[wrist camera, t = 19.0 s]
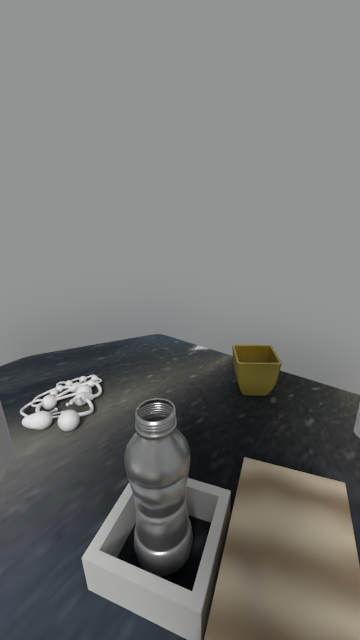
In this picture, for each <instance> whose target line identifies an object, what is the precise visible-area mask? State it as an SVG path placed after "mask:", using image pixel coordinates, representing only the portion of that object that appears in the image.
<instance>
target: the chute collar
mask: <svg viewBox="0 0 360 640" xmlns="http://www.w3.org/2000/svg"><path fill="white" fill-rule="evenodd" d="M230 500H231V491H230V490H227V489H223V488H220V487H217V486H213V485H210V484H207V483H203V482H200V481H197V480H194V479H190V478H188V479H187V489H186V504H187V511H188V515H190V516H193V517H195V518H198V519H201V520H204V521H207V522H210V523H211V526H210V530H209V533H208V537H207V540H206V544H205V548H204V551H203V555H202V558H201V562H200V565H199V569H198V572H197V576H196V580H195V583H194V587H193V590H192V591H190V590H188V589H185V588H183V587H181V586H179V585H176V584H174V583H172V582H170V581H167V580H165V579H163V578H161V577H158V576H156V575H154V574H152V573H149V572H147V571H145V570H143V569H140V568H138V567H136V566H133V565H131V564H129V563H127V562H124V561H122V560H120V559H118V558H117V557H118V555H119V553H120V551H121V549H122V547H123V546H124V544H125V542H126V540H127V538H128V536H129V534H130V532H131V530H132V528H133V526H134V525H135V523H136V507H135V502H134V497H133V492H132V489H131V486H130V483H128V485H127V486H126V488H125V490H124V491H123V493H122V494H121V496H120V498H119V499H118V501H117V502H116V504H115V506H114V507H113V509H112V510H111V512H110V514H109V515H108V517H107V518H106V520H105V522H104V523H103V525H102V526H101V528H100V529H99V531H98V533H97V534H96V536H95V537H94V539H93V541H92V542H91V544H90V545H89V547H88V549H87V550H86V552H85V553H84V555H83V557H82V562H83V567H84V572H85V576H86V581H87V586H88V590H90V591H92V592H94V593H96V594H98V595H100V596H102V597H104V598H106V599H108V600H110V601H112V602H114V603H116V604H118V605H120V606H122V607H124V608H126V609H128V610H130V611H132V612H134V613H136V614H138V615H140V616H142V617H143V618H145V619H147V620H149V621H151V622H153V623H155V624H157V625H159V626H161V627H163V628H165V629H167V630H169V631H171V632H173V633H175V634H177V635H179V636H181V637H183V638H185V639H187V640H203V636H204V632H205V627H206V623H207V619H208V614H209V610H210V605H211V601H212V596H213V592H214V587H215V583H216V578H217V574H218V569H219V565H220V560H221V556H222V552H223V547H224V543H225V538H226V534H227V529H228V525H229V520H230Z"/></svg>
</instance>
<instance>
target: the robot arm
mask: <svg viewBox="0 0 360 640" xmlns="http://www.w3.org/2000/svg"><path fill="white" fill-rule="evenodd" d="M354 432H355V433H356V435H357V436H358V437H359V438H360V404H359V409H358V413H357V418H356V423H355V427H354ZM15 457H16V456H15V452H14V448H13V445H12V441H11V438H10V434H9V431H8V427H7V423H6V420H5V416H4V413H3V409H2V405H1V402H0V482H1V480H2V478H3V477H4V475H5V473H6V472H7V470H8V468H9V467H10V465H11V463H12V462H13V460H14V458H15Z"/></svg>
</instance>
